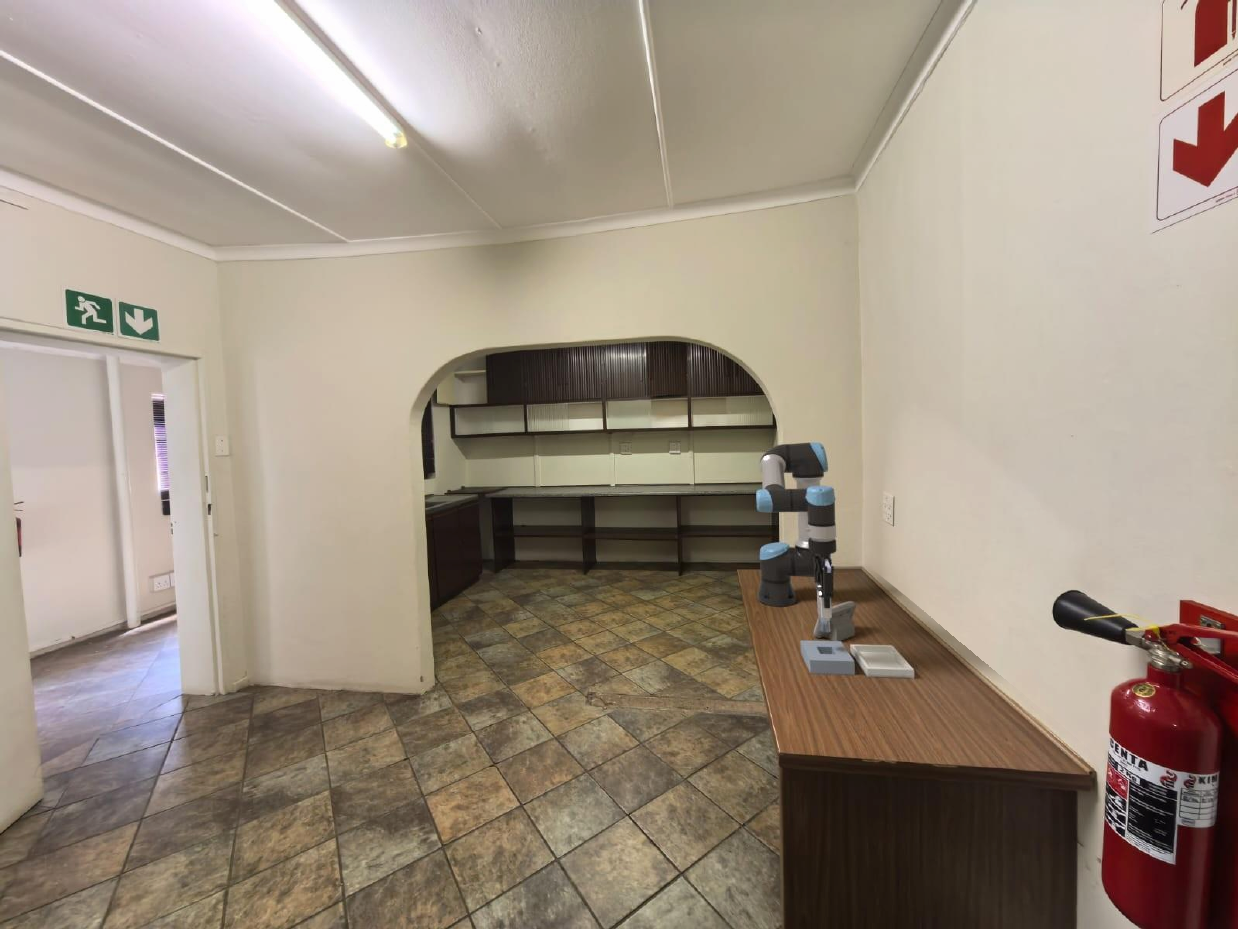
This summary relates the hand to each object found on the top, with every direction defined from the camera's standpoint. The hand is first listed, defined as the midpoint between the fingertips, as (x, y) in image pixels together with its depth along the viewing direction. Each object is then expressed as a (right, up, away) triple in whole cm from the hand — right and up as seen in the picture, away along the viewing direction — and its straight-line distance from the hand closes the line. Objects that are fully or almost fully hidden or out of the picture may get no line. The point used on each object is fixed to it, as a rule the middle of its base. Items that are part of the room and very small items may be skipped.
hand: (824, 614), depth 132 cm
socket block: (+1, -15, +1) cm, 15 cm away
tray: (+16, -14, -2) cm, 21 cm away
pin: (0, -5, 0) cm, 5 cm away
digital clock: (+12, -13, +18) cm, 26 cm away
